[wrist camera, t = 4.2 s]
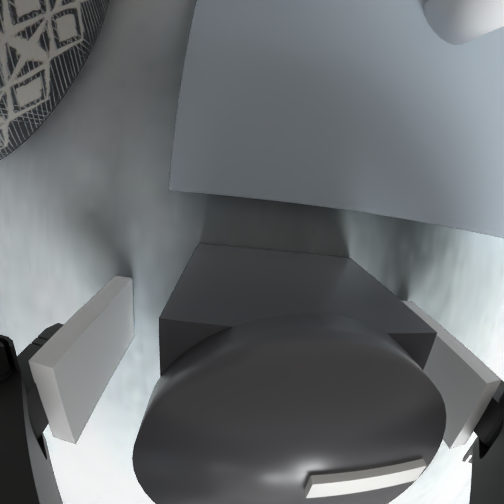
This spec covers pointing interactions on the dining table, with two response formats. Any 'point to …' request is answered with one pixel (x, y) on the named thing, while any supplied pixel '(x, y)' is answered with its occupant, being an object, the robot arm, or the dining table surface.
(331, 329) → the knob
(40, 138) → the dining table surface
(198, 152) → the panel
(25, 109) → the planter
